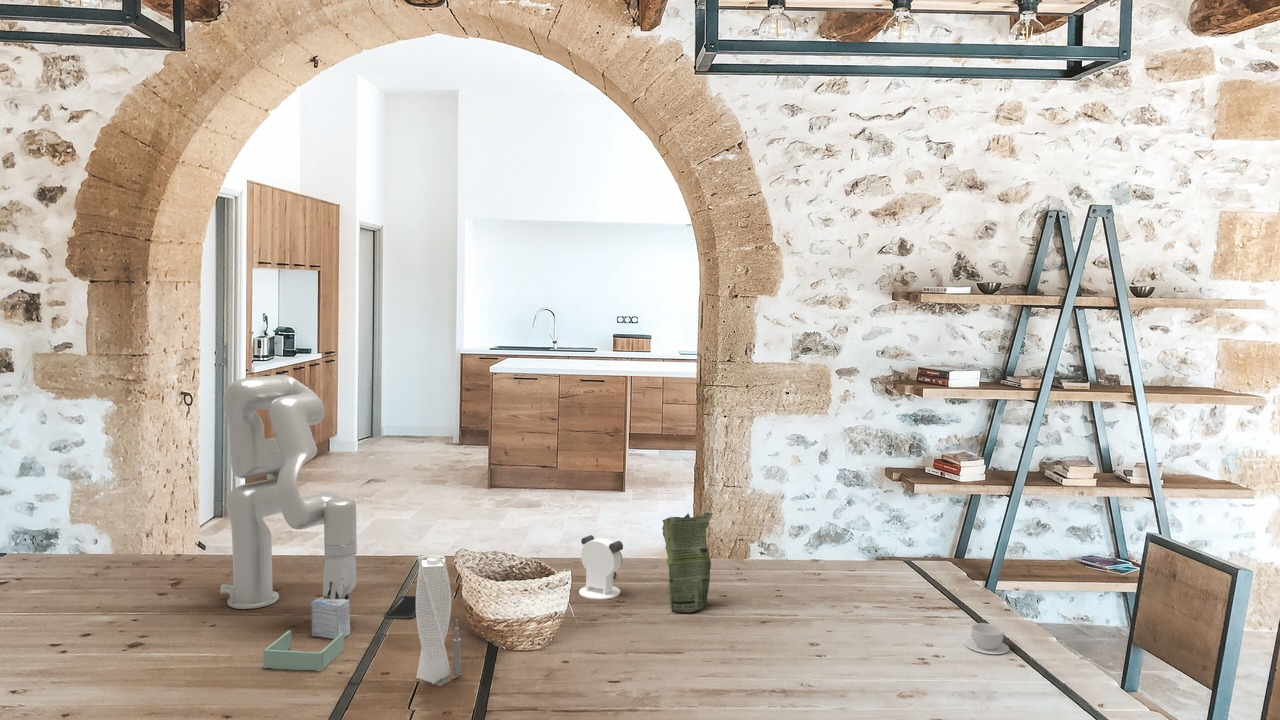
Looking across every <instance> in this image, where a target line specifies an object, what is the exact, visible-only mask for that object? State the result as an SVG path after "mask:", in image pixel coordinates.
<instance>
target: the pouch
mask: <svg viewBox="0 0 1280 720" xmlns="http://www.w3.org/2000/svg"><path fill="white" fill-rule="evenodd" d="M710 517H712V513H709V512H708V511H707V512H705V513H702V514H701V515H695V516H692V517H691V516H690V513H687V514H686V515H684V516H683V517H681V516H669V517H667V518H664V519H662V523H663V526H662V527H661V529H662V536H663V538H664V543H665V551H666V554H667V559H666V563H667V568H668V584H667V590H668V591H667V592H668V597H669V603H670V609H671V611H673V612H679V613H682V612H683V613H693V612H696V611H700V610H702V609H703V608H704V607H705V606H708V595H709V587H710V580H711V577H710V576H711V568H712V567H711V566H712V563H711V558H710V554H709V548H708V544H707V529H708V527H709V526H710Z"/></svg>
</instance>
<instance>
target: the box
mask: <svg viewBox="0 0 1280 720" xmlns="http://www.w3.org/2000/svg"><path fill="white" fill-rule="evenodd" d="M344 640H345V637H344V633H341V634H340V635H338V636H337V637H336V638H335V639H332V641H330V643H329V644H327V646H325V647H324V648H323V649H322V650H321V651H320V652H319V651H304V650H303V651H301V650H300V651H299V650H290V649H291V648H292V630H287V631H286V632H285V633H283V634H282V635H281V636H280V637H279V638H277V639H276V640H275V641H273V642H272V643H271V644H270V645H268V646H267V647H266V648H265V649H264V650H262V651H263V652H262V654H263V655H262V656H263V659H262V660H263V669H267V668H271V670H273V669H274V670H286V669H287V670H289V671H305V670H323V669H324V668H325V667H326V666H327V665H328V664H329V663H330V662H331V661H332V662H333V661H334V660H335V659H336V658H337V657H338V656H339V655H340V654H342V652H344V650H345V641H344ZM334 658H335V659H334ZM332 662H331V663H332ZM331 663H330V664H331ZM330 664H329V665H330ZM329 665H328V666H329ZM328 666H327V667H328ZM327 667H326V668H327ZM326 668H325V669H326ZM325 669H324V670H325ZM287 670H286V671H287ZM324 670H323V671H324Z"/></svg>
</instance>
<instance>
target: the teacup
mask: <svg viewBox="0 0 1280 720" xmlns="http://www.w3.org/2000/svg"><path fill="white" fill-rule="evenodd" d="M970 628H971V629H970V630H971V631H970V632H971V638H968V639H966V640H965V642H964V644H965V646H966V647H967V648H968V649H970V650H972V651H973V652H974V651H975V652H977V653H981V654H987V655H1002V654H1007V653H1009V651H1010V647H1009V645H1007V644H1006V643H1004V641H1003V640H1004V637H1005V636H1004V635H1005V630H1004V629H1003V628H1002V627H1001V626H998V625H996V624H993V623H984V622H981V623H979V622H978V623H973V624H972V625H971V626H970Z"/></svg>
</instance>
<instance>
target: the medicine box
mask: <svg viewBox="0 0 1280 720" xmlns="http://www.w3.org/2000/svg"><path fill="white" fill-rule="evenodd" d="M330 597H331V596H329V597H326V598H324V597H323V595H322V596H320V597H318V598H316V599H314V600H313V601H311V636H312V637H318V638H324V639H329V640H331V639H332V640H334V639H335V638H336V637H337V636H338V635H340V634H341V633H344V638H346V637H348V636H349V635H350V634H351V611H350V610H351V609H350V603H349V600H346V599H340V598H336V599H330ZM345 636H346V637H345Z"/></svg>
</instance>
